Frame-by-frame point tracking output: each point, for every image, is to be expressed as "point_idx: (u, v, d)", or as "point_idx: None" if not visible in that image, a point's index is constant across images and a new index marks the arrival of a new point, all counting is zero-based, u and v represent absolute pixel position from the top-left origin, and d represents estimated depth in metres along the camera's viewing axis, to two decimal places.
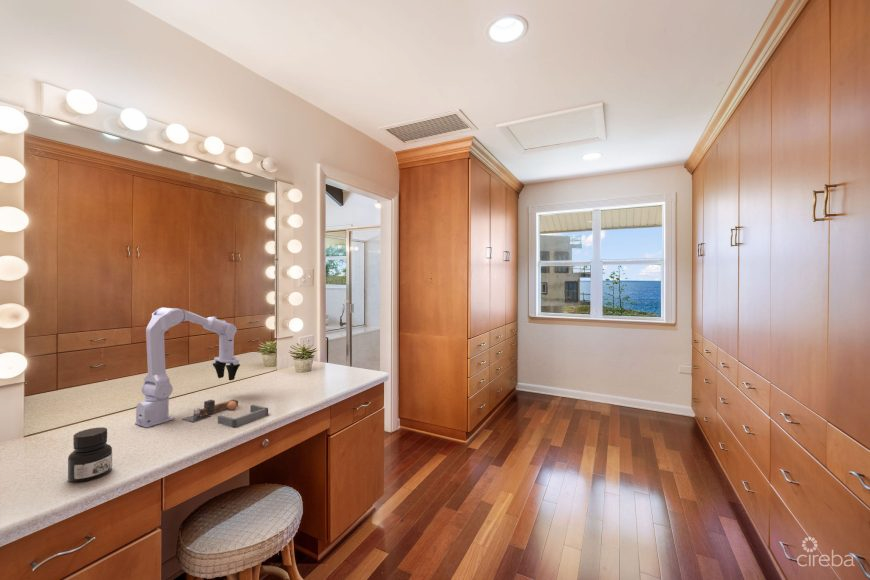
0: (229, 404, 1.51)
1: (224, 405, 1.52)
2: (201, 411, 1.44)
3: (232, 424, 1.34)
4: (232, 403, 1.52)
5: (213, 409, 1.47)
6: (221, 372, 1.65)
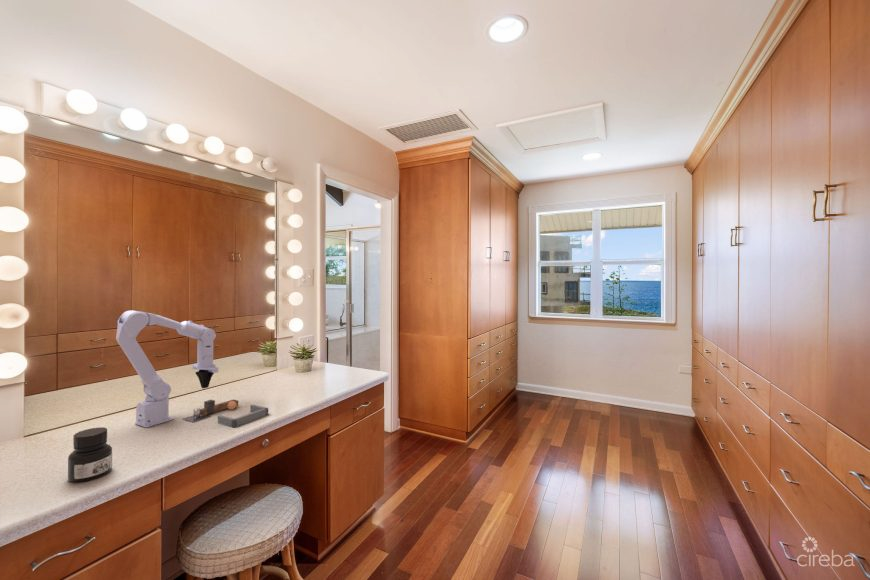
0: (229, 404, 1.51)
1: (224, 405, 1.52)
2: (201, 411, 1.44)
3: (232, 424, 1.34)
4: (232, 403, 1.52)
5: (213, 409, 1.47)
6: None
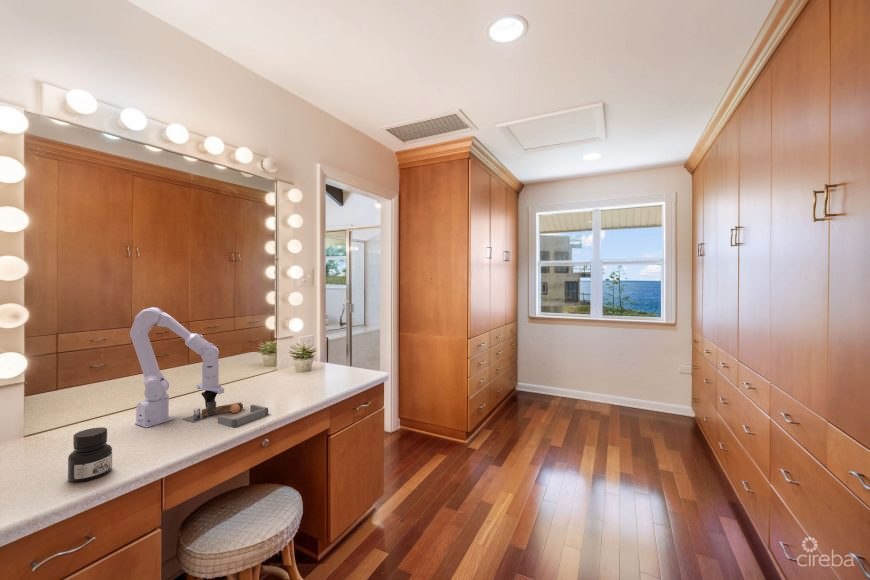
0: (232, 412, 1.48)
1: (227, 407, 1.49)
2: (202, 411, 1.44)
3: (232, 424, 1.34)
4: (235, 412, 1.49)
5: (214, 411, 1.45)
6: None
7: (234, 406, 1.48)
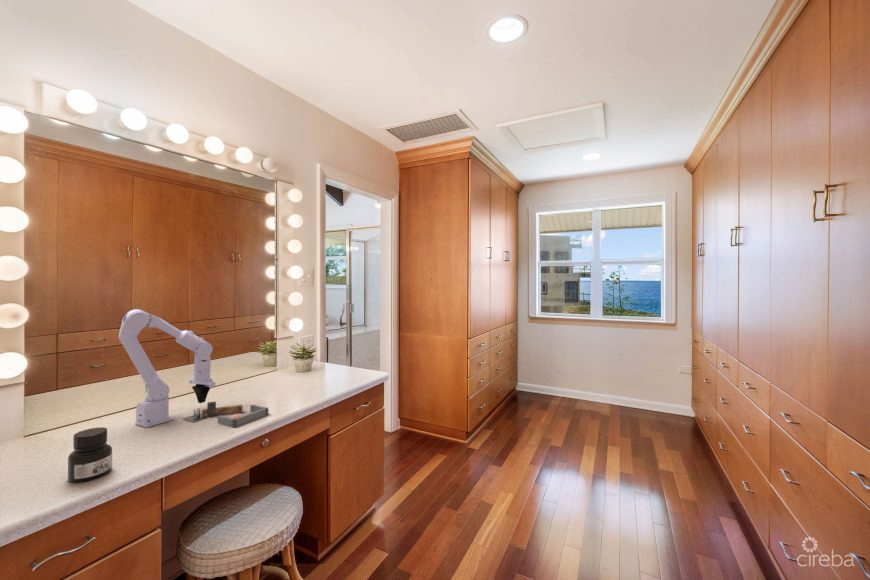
0: None
1: (227, 409, 1.47)
2: (202, 412, 1.43)
3: (232, 424, 1.34)
4: None
5: (214, 412, 1.44)
6: None
7: None
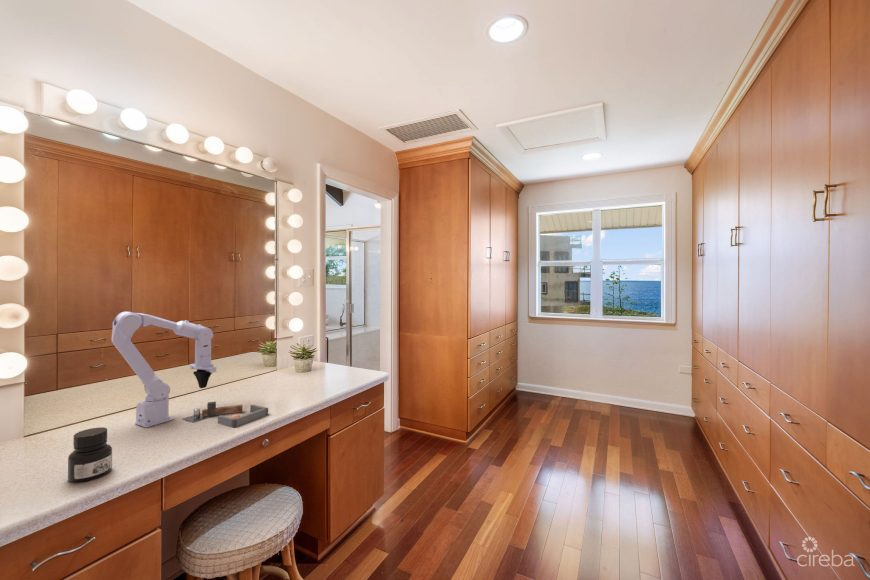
0: None
1: (227, 409, 1.47)
2: (202, 412, 1.43)
3: (232, 424, 1.34)
4: None
5: (214, 412, 1.44)
6: None
7: None
